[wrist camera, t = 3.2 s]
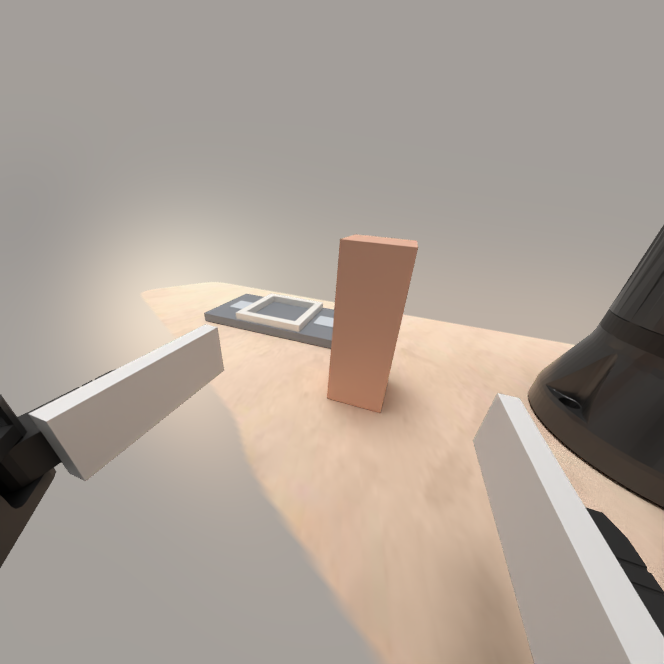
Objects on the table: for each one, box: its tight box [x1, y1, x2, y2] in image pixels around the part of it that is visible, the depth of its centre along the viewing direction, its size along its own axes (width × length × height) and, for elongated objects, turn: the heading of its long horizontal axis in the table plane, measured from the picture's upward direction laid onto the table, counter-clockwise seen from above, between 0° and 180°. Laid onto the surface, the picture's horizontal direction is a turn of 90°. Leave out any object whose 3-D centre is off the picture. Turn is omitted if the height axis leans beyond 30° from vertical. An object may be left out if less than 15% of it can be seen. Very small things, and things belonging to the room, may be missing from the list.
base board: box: [204, 294, 334, 348], centre depth 36 cm, size 20×10×2 cm, turn 73°
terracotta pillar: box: [327, 235, 418, 413], centre depth 20 cm, size 5×5×14 cm
